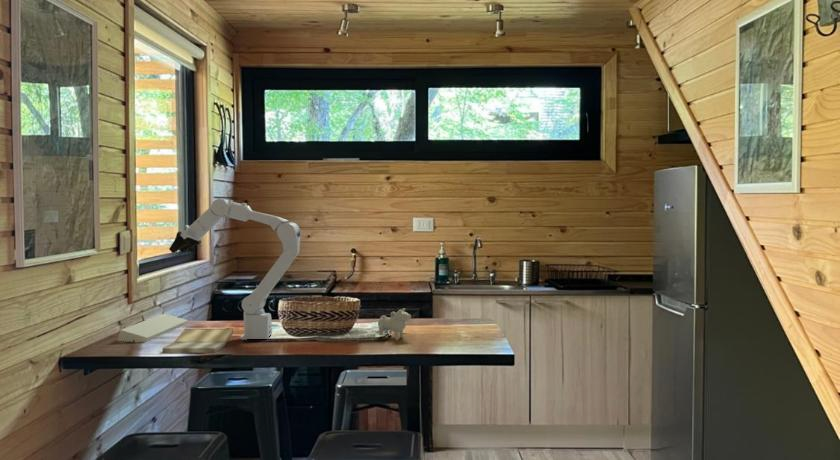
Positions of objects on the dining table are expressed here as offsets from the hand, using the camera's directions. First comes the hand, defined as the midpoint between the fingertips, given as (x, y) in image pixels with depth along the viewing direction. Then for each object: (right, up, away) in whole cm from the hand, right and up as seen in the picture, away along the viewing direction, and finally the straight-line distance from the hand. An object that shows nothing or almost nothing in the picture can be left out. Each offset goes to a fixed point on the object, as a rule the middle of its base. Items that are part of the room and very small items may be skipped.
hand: (175, 250), depth 241 cm
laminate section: (+12, -32, -17) cm, 39 cm away
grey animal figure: (+78, -31, 0) cm, 84 cm away
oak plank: (+13, -30, -7) cm, 33 cm away
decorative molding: (-12, -32, +12) cm, 36 cm away
